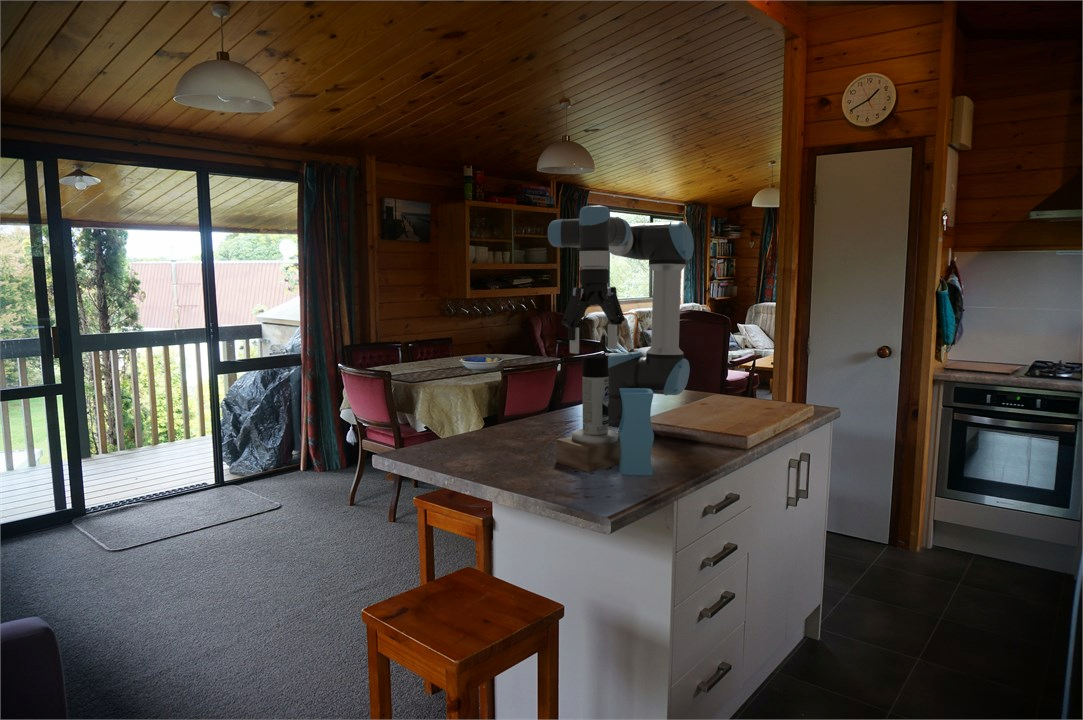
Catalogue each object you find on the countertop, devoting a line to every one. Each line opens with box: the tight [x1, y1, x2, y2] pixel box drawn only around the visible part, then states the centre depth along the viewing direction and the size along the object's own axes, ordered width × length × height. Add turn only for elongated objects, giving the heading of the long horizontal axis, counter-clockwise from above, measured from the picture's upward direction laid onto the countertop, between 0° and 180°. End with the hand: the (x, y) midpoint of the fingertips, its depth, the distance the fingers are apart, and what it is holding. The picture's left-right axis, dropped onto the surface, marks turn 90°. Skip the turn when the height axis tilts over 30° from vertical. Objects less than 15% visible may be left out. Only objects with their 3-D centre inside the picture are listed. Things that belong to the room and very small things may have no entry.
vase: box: [617, 388, 655, 476], centre depth 173 cm, size 8×8×20 cm
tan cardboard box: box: [555, 428, 621, 473], centre depth 182 cm, size 16×12×8 cm
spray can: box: [581, 354, 609, 436], centre depth 180 cm, size 7×7×20 cm
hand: (593, 351), depth 182 cm, fingers open, 13 cm apart
